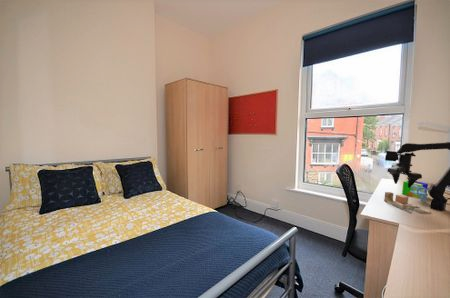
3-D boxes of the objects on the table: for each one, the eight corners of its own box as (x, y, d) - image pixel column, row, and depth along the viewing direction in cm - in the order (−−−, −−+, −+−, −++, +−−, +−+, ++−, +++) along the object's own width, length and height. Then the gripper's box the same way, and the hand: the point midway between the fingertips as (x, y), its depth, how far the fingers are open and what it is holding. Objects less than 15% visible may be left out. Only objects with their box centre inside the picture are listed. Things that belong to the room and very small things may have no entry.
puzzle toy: (426, 197, 148) (428, 183, 147) (418, 198, 145) (420, 185, 144) (409, 192, 158) (411, 180, 156) (402, 194, 154) (403, 181, 153)
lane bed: (399, 201, 138) (399, 199, 138) (431, 214, 118) (431, 211, 118) (381, 202, 137) (381, 199, 137) (410, 215, 118) (410, 212, 117)
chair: (429, 205, 133) (431, 187, 132) (414, 204, 135) (416, 186, 133) (420, 201, 141) (422, 184, 139) (406, 199, 142) (408, 183, 141)
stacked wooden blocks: (390, 200, 138) (390, 192, 137) (409, 208, 124) (410, 199, 124) (383, 200, 137) (384, 192, 137) (402, 208, 124) (403, 199, 123)
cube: (395, 201, 137) (395, 195, 136) (401, 201, 137) (402, 194, 136) (401, 203, 132) (402, 197, 132) (407, 203, 132) (408, 197, 132)
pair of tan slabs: (411, 205, 129) (411, 204, 129) (429, 213, 118) (429, 211, 118) (404, 205, 129) (404, 204, 129) (421, 213, 118) (422, 211, 118)
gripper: (381, 159, 141) (378, 181, 143) (407, 165, 122) (404, 190, 124) (396, 159, 142) (393, 181, 144) (424, 165, 123) (420, 190, 125)
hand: (402, 185), depth 134 cm, fingers open, 9 cm apart
